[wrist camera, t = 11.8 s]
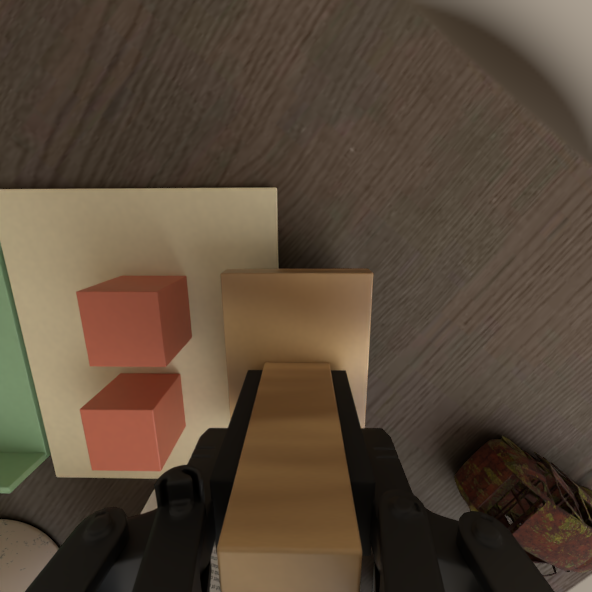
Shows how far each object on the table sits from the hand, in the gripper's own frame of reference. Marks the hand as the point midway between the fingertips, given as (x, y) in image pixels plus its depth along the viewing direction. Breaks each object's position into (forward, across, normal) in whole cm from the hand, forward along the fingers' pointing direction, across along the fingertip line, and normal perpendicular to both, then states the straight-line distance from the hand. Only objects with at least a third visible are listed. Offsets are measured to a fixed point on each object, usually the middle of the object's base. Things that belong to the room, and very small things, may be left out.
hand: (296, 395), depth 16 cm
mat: (+6, -10, 0) cm, 11 cm away
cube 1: (+5, -10, -4) cm, 11 cm away
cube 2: (+5, -9, +3) cm, 10 cm away
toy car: (+6, +16, -11) cm, 21 cm away
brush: (+4, 0, 0) cm, 4 cm away
